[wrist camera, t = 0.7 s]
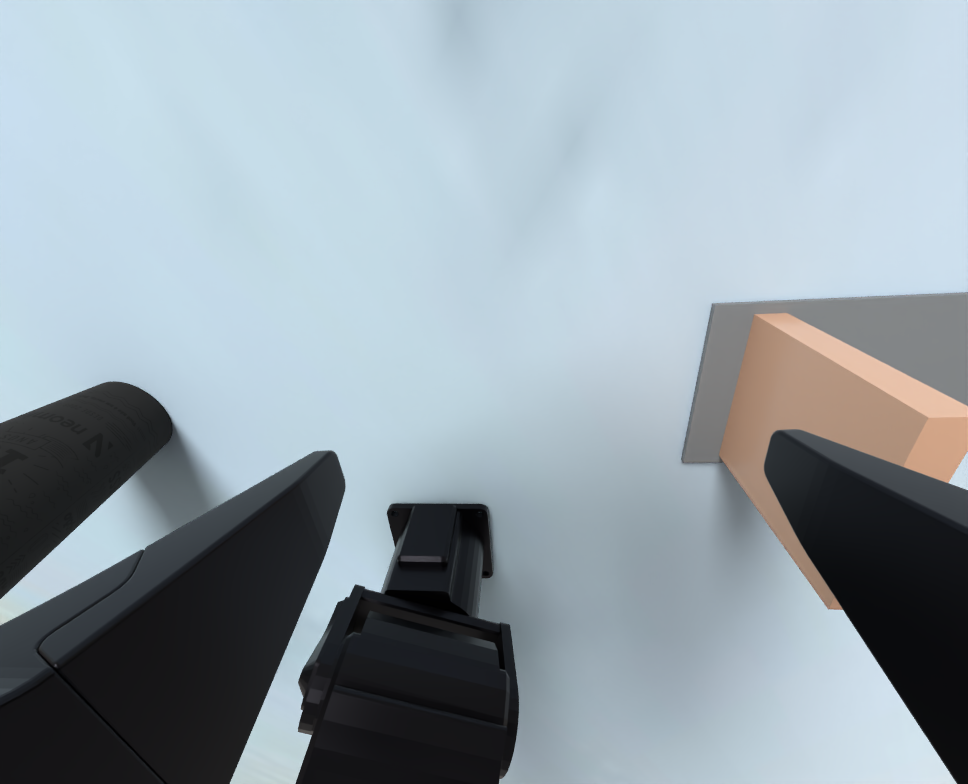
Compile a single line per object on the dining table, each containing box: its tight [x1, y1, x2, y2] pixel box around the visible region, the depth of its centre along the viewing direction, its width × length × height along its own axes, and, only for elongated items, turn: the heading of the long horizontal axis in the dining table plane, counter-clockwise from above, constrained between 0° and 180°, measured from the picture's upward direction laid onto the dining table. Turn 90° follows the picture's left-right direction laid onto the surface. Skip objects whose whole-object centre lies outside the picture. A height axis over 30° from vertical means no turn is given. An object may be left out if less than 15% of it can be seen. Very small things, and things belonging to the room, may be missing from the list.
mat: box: [681, 292, 968, 463], centre depth 20 cm, size 9×13×1 cm
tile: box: [719, 313, 968, 610], centre depth 16 cm, size 8×2×9 cm, turn 4°
